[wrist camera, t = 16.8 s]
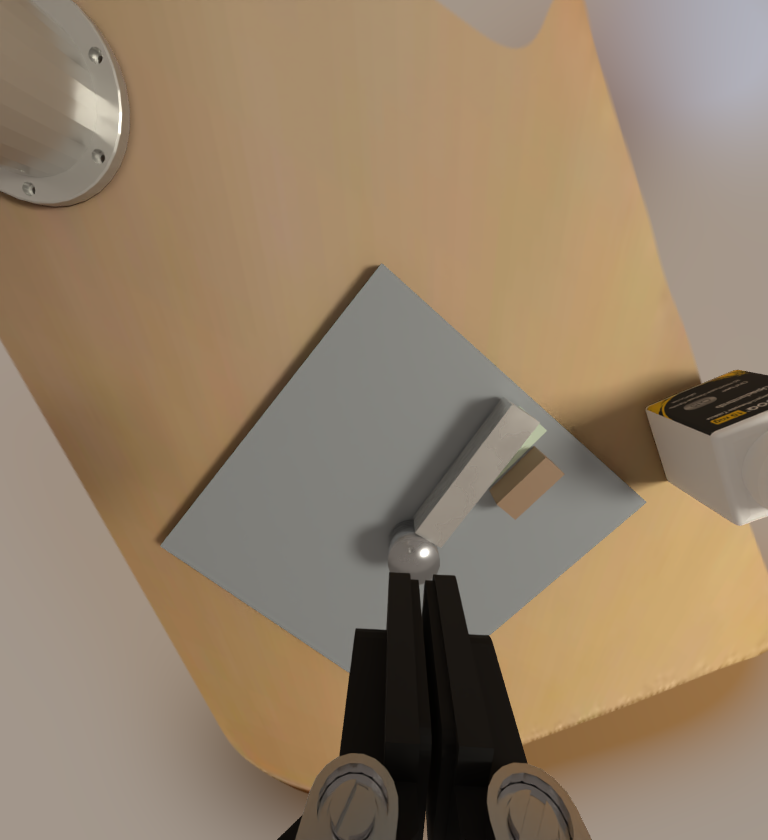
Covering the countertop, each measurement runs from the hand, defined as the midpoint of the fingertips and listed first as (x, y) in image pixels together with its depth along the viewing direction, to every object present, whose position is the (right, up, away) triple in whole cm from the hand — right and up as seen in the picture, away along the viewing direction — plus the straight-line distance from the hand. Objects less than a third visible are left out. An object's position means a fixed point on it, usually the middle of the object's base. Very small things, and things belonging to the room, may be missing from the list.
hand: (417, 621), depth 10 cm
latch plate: (0, -3, +24) cm, 24 cm away
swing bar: (+5, 0, +21) cm, 22 cm away
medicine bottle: (+24, +5, +21) cm, 32 cm away
